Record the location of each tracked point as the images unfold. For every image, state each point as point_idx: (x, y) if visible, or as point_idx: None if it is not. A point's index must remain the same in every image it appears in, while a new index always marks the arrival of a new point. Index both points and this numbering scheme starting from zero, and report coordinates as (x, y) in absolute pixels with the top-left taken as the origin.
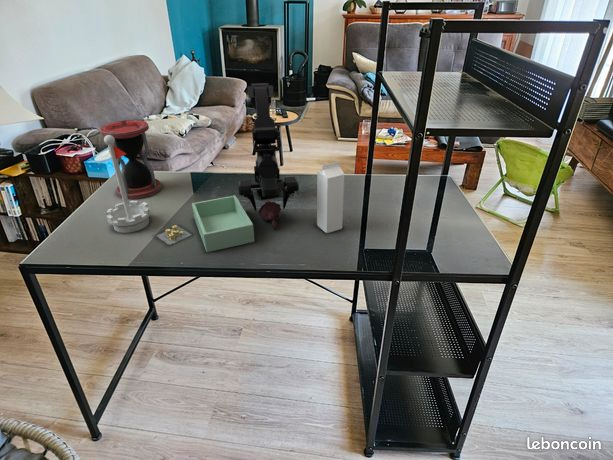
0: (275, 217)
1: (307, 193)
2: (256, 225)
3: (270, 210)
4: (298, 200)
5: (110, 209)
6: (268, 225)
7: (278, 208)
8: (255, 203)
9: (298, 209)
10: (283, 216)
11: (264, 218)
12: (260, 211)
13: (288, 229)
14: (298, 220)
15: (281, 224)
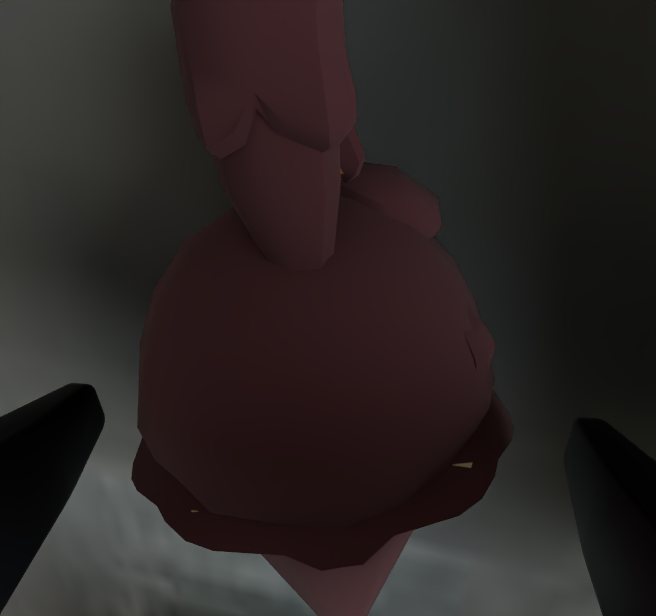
0: (233, 208)
1: (50, 611)
2: (561, 212)
3: (284, 305)
4: (95, 558)
5: None
6: None
7: (142, 382)
8: (625, 598)
9: None
10: None
11: (437, 242)
12: (488, 414)
13: (82, 2)
14: (8, 241)
15: (200, 179)
